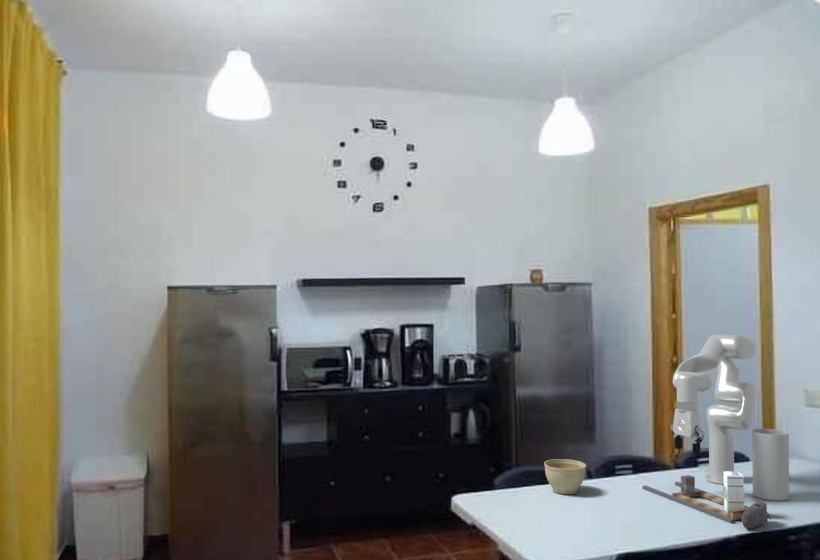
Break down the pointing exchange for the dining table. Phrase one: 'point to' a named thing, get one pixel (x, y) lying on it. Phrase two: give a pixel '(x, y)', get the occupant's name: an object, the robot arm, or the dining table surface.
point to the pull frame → (690, 491)
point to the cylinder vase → (770, 464)
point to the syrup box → (733, 490)
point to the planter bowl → (565, 475)
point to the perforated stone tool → (755, 515)
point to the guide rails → (691, 503)
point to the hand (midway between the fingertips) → (687, 451)
